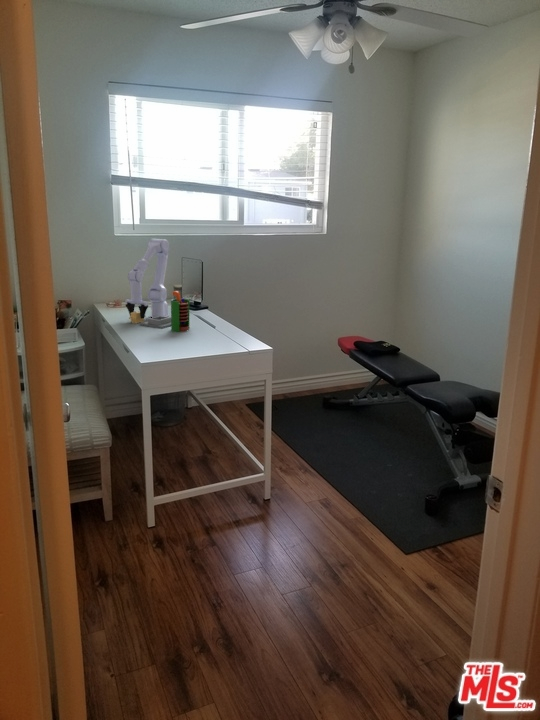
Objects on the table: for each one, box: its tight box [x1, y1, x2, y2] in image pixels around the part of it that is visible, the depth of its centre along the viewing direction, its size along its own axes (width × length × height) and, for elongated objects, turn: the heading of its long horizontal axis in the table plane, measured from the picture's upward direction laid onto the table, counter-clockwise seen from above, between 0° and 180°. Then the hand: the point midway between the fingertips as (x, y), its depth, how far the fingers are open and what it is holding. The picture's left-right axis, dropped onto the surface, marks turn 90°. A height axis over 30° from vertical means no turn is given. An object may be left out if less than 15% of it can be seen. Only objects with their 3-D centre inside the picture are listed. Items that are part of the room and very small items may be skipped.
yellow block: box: [128, 310, 146, 324], centre depth 297 cm, size 9×4×6 cm, turn 151°
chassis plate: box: [139, 316, 171, 329], centre depth 293 cm, size 14×15×4 cm
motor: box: [170, 290, 190, 333], centre depth 279 cm, size 10×9×20 cm
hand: (137, 317), depth 297 cm, fingers open, 7 cm apart
